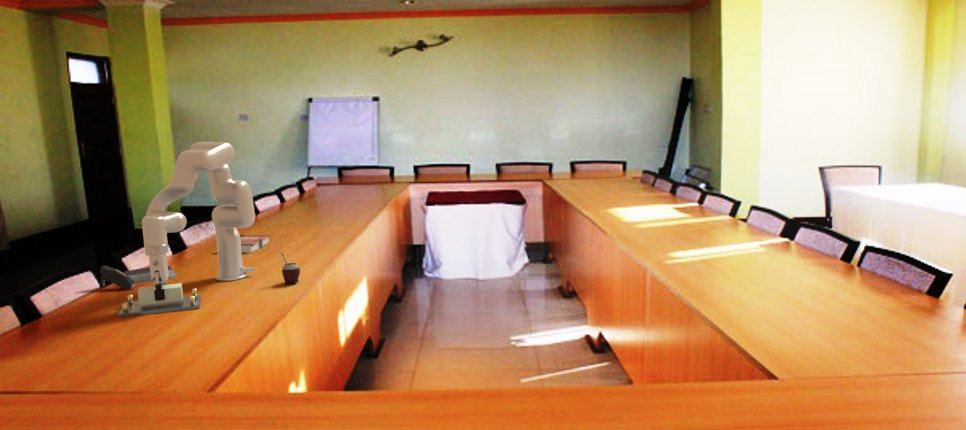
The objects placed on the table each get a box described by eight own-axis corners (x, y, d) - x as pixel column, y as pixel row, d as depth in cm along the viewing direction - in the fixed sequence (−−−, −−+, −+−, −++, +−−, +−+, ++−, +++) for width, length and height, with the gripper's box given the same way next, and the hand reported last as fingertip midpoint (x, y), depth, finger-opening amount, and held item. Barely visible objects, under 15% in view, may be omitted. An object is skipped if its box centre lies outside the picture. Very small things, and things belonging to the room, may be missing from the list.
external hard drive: (176, 278, 274) (175, 269, 274) (125, 286, 263) (124, 276, 263) (171, 272, 285) (170, 263, 284) (122, 279, 274) (121, 270, 273)
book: (252, 254, 321) (252, 244, 320) (218, 254, 321) (217, 244, 320) (271, 243, 346) (270, 234, 346) (239, 243, 347) (238, 234, 346)
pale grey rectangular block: (182, 296, 237) (181, 283, 237) (182, 300, 232) (180, 287, 231) (140, 300, 232) (139, 287, 231) (139, 305, 227) (137, 291, 226)
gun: (126, 303, 257) (133, 282, 255) (93, 283, 259) (100, 263, 256) (131, 301, 260) (138, 280, 257) (98, 282, 261) (106, 261, 259)
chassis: (201, 297, 244) (200, 286, 243) (199, 308, 230) (198, 297, 229) (125, 305, 235) (124, 294, 234) (118, 317, 221) (116, 305, 220)
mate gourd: (303, 282, 263) (301, 247, 261) (286, 286, 258) (284, 250, 255) (294, 279, 268) (292, 245, 266) (277, 283, 263) (274, 248, 260)
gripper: (165, 253, 222) (170, 303, 225) (170, 244, 238) (174, 290, 241) (141, 255, 220) (146, 305, 223) (148, 245, 236) (152, 292, 239)
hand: (161, 297), depth 232 cm, fingers closed on pale grey rectangular block, 6 cm apart
